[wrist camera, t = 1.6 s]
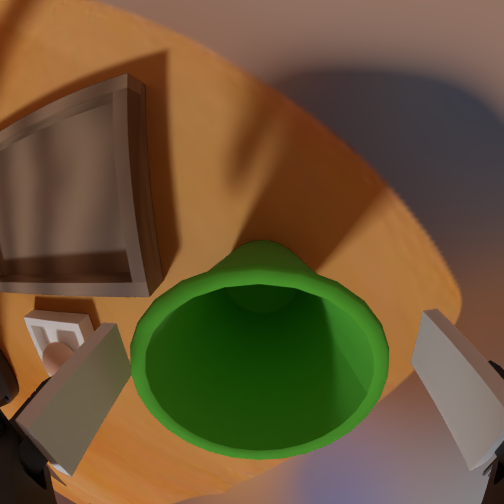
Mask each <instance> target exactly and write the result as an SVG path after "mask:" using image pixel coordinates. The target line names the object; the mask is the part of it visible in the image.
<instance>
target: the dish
mask: <svg viewBox="0 0 504 504" xmlns="http://www.w3.org/2000/svg"><path fill="white" fill-rule="evenodd" d="M24 320H25V322H26V325H27V328H28V330H29V333H30V335H31V337H32V340H33V342H34V345H35V347H36V349H37V351H38V353H39V356H40V358H41V360H42V355H43V351H44V349H45V348H46V346H47V345H49V344H50V343H53V342H61V343H64V344H66V345H68V346H69V347H70V348H71V349H72V351H73V352H75V351H76V350H77V349H78V348H79V347H80V346H81V345H82V344H83V343H84V342H85V341H86V340H87V339H88V338H89V337H90V336H91V334H92V333H93V332H94V329H93V326H92V323H91V320H90V317H89V314H79V313H67V312H55V311H45V310H36V309H34V310H32V311H31V312H30V313H28V314H27V315H25V316H24ZM42 362H43V361H42ZM48 374H49V373H48ZM49 376H50V377H51V375H50V374H49Z"/></svg>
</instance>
